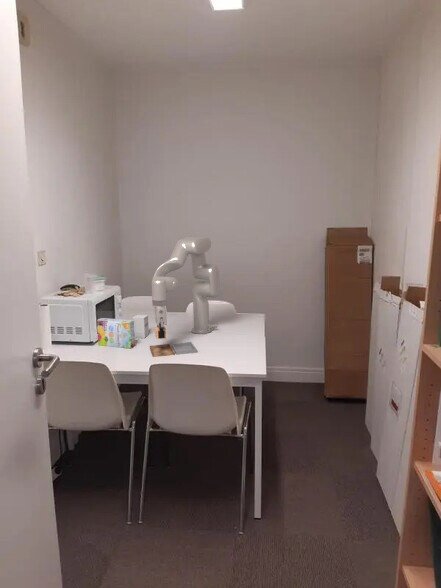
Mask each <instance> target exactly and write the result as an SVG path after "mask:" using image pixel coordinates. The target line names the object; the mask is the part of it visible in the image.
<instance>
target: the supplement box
mask: <svg viewBox="0 0 441 588" xmlns="http://www.w3.org/2000/svg"><path fill="white" fill-rule="evenodd" d="M132 320H134V332H135V339H146V337H148V336H149V335H150V334H149V333H150V331H149V326H150V325H149V314H136V315H134V316H133V317H132Z"/></svg>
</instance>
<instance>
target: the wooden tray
mask: <svg viewBox="0 0 441 588" xmlns="http://www.w3.org/2000/svg"><path fill="white" fill-rule="evenodd" d="M149 350H150V354H151V357H152V358H156V357H157V358H158V357H166V356H167V357H168V356H175V352H174V350H173V348H172V344H170V343H166V344H165V343H163V344H155V345H154V344H153V345H149Z"/></svg>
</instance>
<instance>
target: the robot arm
mask: <svg viewBox="0 0 441 588" xmlns="http://www.w3.org/2000/svg"><path fill="white" fill-rule="evenodd" d="M211 248H212V241H211V239H210V238H209V237H208V236H192V235H191V236H184V237H183V238H181V239H178V240H177V241H176V244H175V245H174V248H173V251H172V252H171V254H170V257H169V259H167V260H166V261H165V262H163V263H162V264H161V265H160V266H158V267H157V269H156V270H155V272H154V275H153V276H152V278H151V279H152V280H151V300H152V301H151V302H152V304H151V306H152V307H154V316H155V317H154V319H155V323H156V327H159V331H158V338H159V339H160V338H162V339H166V338H165V331H164V327H165V326H166V325H167V323H168V322H167V310H166V307H167V306H168V297H167V296H168V295H167V294H168V293H169V292H175V291H176V290H177V289H178V287H179V281H178V279H177V278H176V277H172V276H166V275H168V274H169V273H171V272H175V271H176V270H180V269H181V268H183V267H184V265H185V263H186V260H187V258H188V256H189V255H190V258H191V259H190V260H191V269H192V276H193V278H194V279H195V280H196V279H197V280H196V281H193V282H192V284H191V286H190V291H191V292H190V293H191V295H192V304H193V305H192V306H193V307H192V308H193V310H192V312H193V314H192V317H193V328H191V329H190V330H191V333H193V334H199V335H203V334H210V333H211V332H212V330H213V329H215V328H217V327H218V325H217V324H214V323H212V324H211V323H210V306H209V300H208V299H207V298H218V296H219V295H220V290H221V289H220V273H219V272H220V271H219V268H218V266H217V265H216V264H214V263H208V262H207V259H206V254H205V253H207V252H209V251H210V249H211ZM167 292H168V293H167ZM159 339H158V340H159Z"/></svg>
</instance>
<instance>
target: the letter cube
mask: <svg viewBox="0 0 441 588" xmlns="http://www.w3.org/2000/svg"><path fill="white" fill-rule="evenodd" d="M154 330H155V333H154V336H155V338H156V339H157V340H159V338H158V331H159V327H157V326H156V327H155V328H154ZM164 331H165V338H164V339H167V329H166V326H164ZM160 339H163V338H160Z"/></svg>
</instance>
